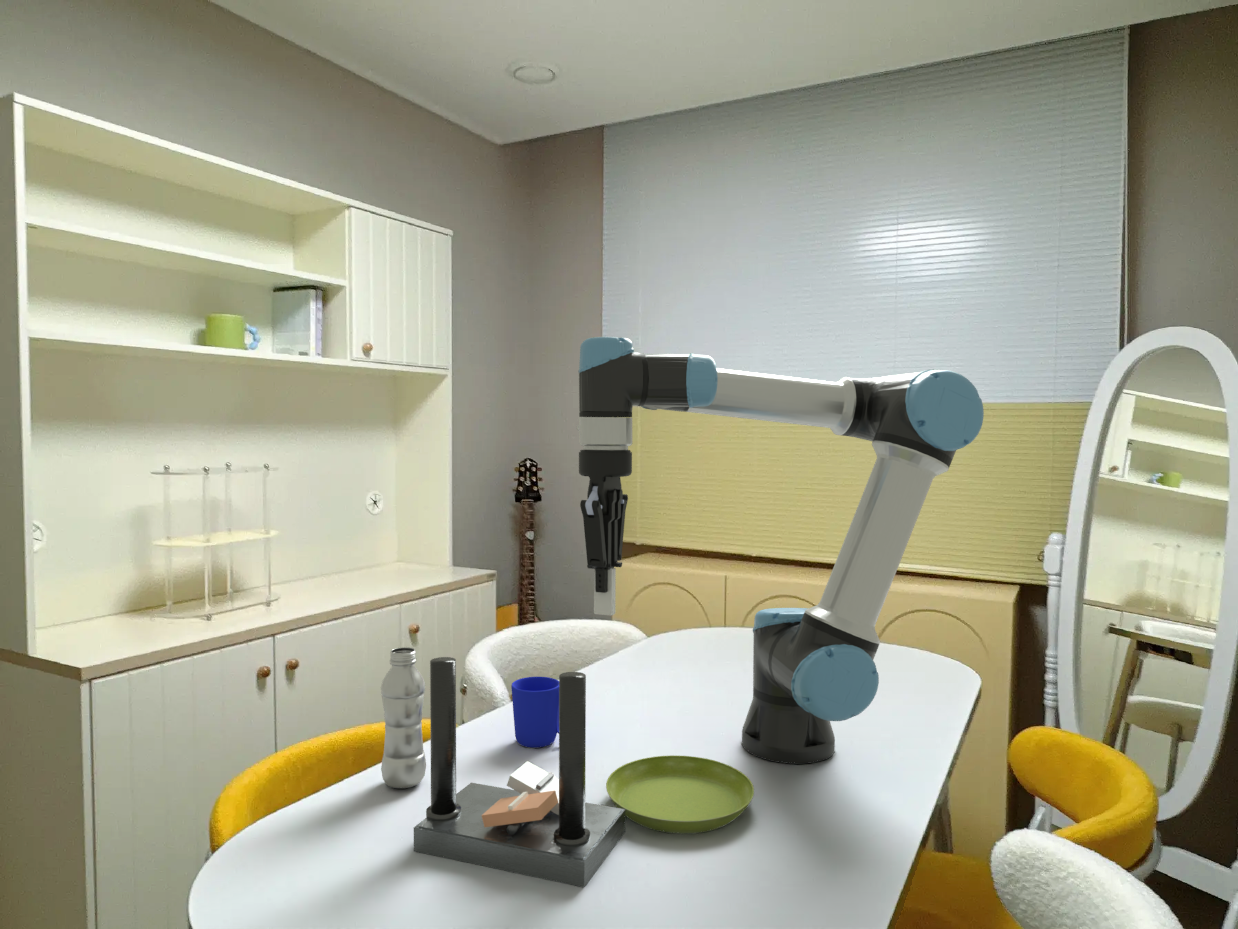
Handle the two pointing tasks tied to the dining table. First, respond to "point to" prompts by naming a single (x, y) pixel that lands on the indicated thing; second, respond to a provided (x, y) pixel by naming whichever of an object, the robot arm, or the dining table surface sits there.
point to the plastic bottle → (403, 721)
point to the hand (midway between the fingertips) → (604, 613)
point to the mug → (536, 711)
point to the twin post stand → (527, 848)
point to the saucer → (680, 793)
